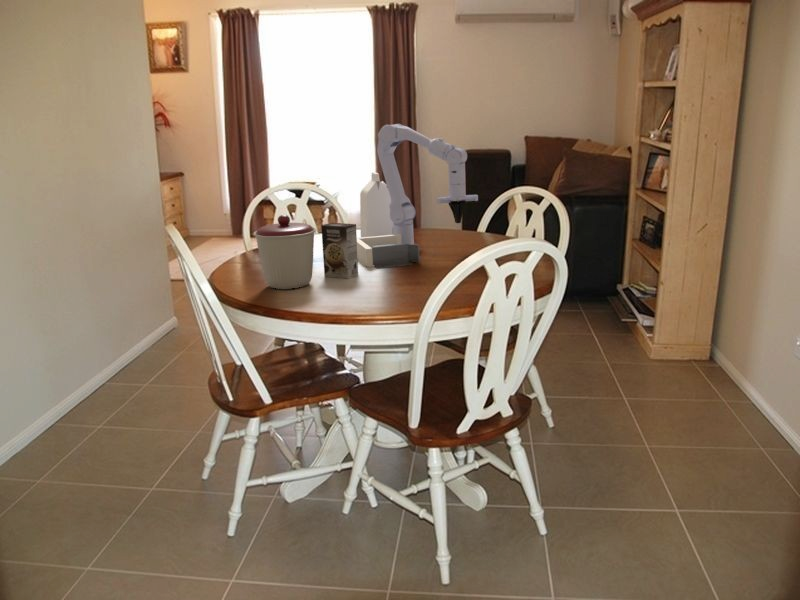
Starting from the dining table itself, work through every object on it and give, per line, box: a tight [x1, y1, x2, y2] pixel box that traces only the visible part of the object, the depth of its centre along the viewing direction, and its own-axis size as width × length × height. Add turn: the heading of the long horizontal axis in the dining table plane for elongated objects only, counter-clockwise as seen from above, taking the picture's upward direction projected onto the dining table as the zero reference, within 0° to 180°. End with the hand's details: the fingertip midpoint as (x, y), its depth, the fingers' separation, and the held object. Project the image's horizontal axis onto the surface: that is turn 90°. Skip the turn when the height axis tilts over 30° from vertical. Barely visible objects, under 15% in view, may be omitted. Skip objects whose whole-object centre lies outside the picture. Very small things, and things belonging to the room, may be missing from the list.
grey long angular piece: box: [371, 243, 421, 269], centre depth 233 cm, size 6×16×6 cm, turn 106°
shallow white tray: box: [357, 234, 402, 268], centre depth 244 cm, size 22×18×6 cm
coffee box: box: [320, 222, 359, 280], centre depth 220 cm, size 9×6×16 cm
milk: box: [359, 172, 393, 238], centre depth 274 cm, size 12×12×26 cm
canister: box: [253, 214, 317, 290], centre depth 209 cm, size 18×18×21 cm
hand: (457, 222), depth 249 cm, fingers closed
